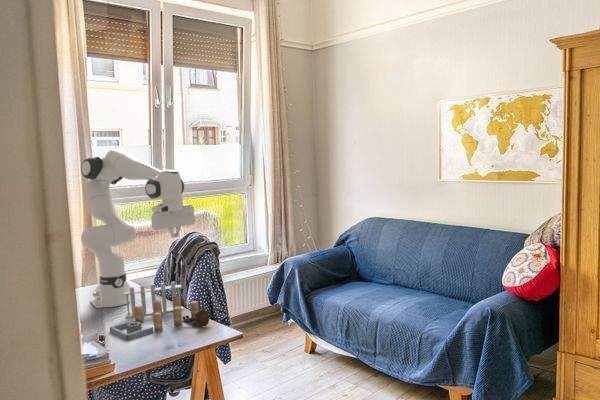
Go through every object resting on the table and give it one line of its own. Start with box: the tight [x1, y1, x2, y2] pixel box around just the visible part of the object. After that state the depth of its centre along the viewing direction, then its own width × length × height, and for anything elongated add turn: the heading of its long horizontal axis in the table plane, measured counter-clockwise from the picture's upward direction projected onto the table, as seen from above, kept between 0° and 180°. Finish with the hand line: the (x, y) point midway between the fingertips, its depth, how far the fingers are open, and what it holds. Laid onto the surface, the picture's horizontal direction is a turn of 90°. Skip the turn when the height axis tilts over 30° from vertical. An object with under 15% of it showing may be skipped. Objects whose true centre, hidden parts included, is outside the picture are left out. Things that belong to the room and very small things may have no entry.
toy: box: [182, 309, 211, 328], centre depth 200 cm, size 10×7×15 cm
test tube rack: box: [124, 281, 184, 319], centre depth 217 cm, size 25×4×13 cm, turn 109°
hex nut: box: [125, 322, 143, 334], centre depth 195 cm, size 6×5×3 cm
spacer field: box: [134, 295, 200, 333], centre depth 206 cm, size 19×21×7 cm
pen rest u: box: [109, 319, 154, 341], centre depth 194 cm, size 15×11×2 cm
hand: (175, 237), depth 214 cm, fingers closed
